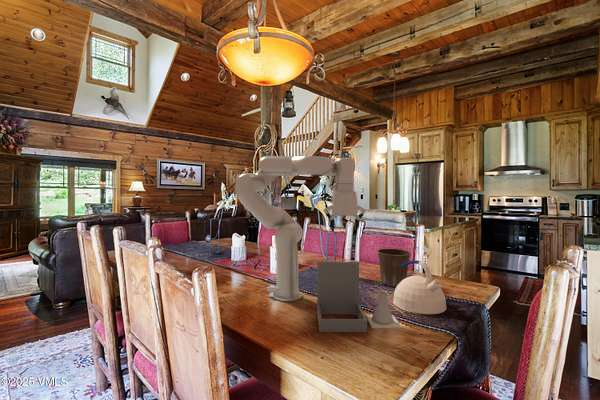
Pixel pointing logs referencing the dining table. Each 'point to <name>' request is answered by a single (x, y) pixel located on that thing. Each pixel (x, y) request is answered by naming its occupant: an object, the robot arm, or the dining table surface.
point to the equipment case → (339, 296)
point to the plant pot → (393, 265)
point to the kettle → (420, 293)
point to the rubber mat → (376, 325)
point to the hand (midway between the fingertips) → (344, 229)
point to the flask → (382, 310)
